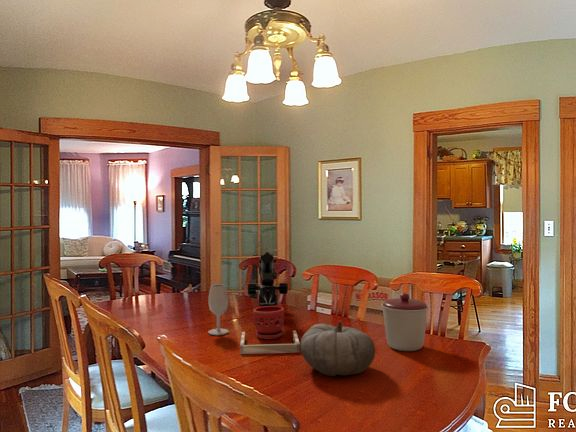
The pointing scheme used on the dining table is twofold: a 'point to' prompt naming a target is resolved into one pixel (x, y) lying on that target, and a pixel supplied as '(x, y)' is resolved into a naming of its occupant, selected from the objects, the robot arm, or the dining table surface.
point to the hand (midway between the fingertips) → (268, 304)
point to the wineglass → (218, 305)
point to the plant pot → (269, 321)
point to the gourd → (337, 349)
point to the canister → (405, 322)
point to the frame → (270, 347)
